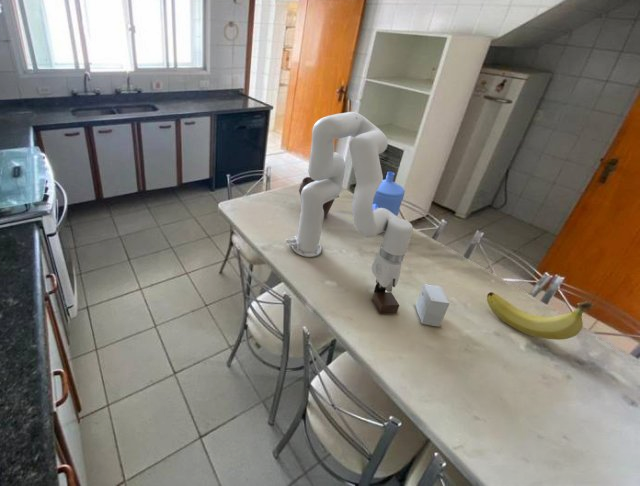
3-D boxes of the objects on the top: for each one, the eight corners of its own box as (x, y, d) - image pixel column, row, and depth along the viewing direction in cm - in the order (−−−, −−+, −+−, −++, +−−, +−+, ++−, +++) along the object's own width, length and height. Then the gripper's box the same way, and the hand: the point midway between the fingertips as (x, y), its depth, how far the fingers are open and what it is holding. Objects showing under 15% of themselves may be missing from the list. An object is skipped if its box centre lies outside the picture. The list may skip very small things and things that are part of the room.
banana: (478, 309, 115) (501, 265, 106) (484, 302, 118) (507, 258, 109) (560, 358, 99) (596, 310, 90) (565, 349, 102) (600, 302, 93)
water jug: (392, 220, 167) (407, 169, 154) (394, 236, 154) (411, 183, 141) (360, 213, 171) (372, 164, 159) (360, 229, 158) (373, 176, 145)
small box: (439, 327, 107) (450, 304, 102) (421, 324, 108) (431, 300, 103) (431, 309, 114) (441, 286, 109) (414, 306, 115) (423, 283, 110)
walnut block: (379, 313, 111) (382, 305, 109) (372, 300, 116) (374, 292, 115) (396, 313, 111) (399, 305, 110) (388, 300, 117) (391, 292, 115)
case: (338, 224, 161) (345, 192, 153) (297, 222, 161) (302, 189, 153) (330, 206, 177) (336, 176, 169) (293, 204, 177) (297, 174, 169)
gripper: (371, 239, 116) (360, 279, 125) (391, 268, 103) (377, 310, 111) (392, 240, 117) (379, 279, 125) (414, 268, 104) (398, 310, 112)
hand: (378, 293), depth 118 cm, fingers closed
